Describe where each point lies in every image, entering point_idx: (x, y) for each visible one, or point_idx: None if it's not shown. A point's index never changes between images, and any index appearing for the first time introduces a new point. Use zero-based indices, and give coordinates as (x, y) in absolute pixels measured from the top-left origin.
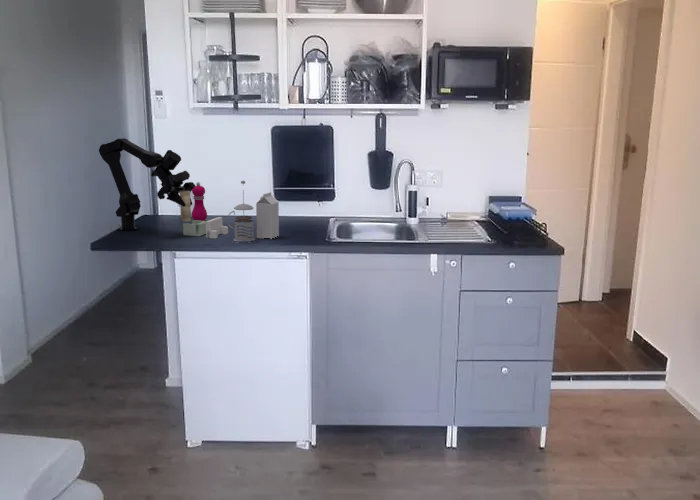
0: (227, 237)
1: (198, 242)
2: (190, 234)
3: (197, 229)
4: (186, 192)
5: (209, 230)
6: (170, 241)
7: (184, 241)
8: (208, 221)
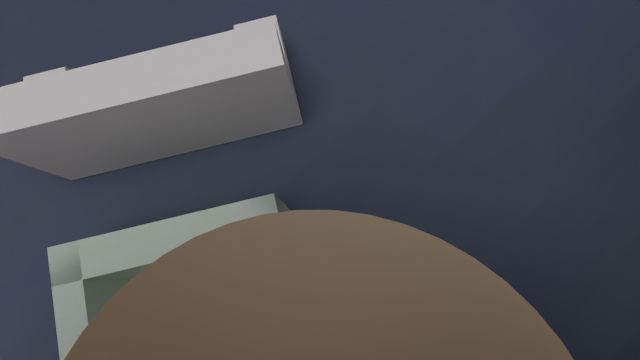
0: (201, 2)
1: (478, 53)
2: None
3: None
4: (449, 255)
5: (287, 66)
6: (595, 274)
7: (518, 172)
8: (264, 40)
